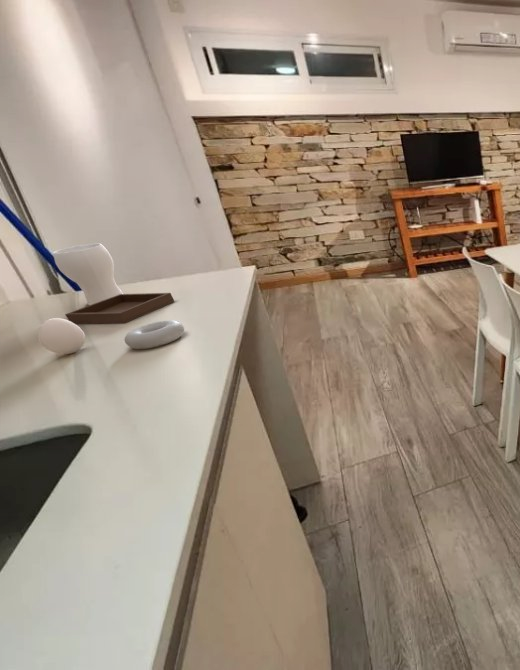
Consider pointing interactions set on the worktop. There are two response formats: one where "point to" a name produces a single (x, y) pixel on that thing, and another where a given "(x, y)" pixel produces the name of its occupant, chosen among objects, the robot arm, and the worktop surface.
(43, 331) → the egg
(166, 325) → the donut
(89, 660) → the worktop surface
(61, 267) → the cup
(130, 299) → the tray
